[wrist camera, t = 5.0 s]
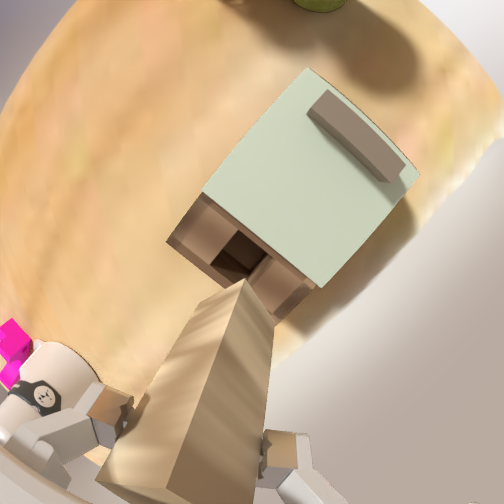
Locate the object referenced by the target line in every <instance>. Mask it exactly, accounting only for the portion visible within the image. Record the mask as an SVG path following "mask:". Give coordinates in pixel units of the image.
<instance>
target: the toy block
mask: <svg viewBox="0 0 504 504" xmlns="http://www.w3.org/2000/svg"><path fill="white" fill-rule="evenodd" d="M30 343H31V338H30V337H29V336H28V335H27V334H26V333H25V332H24V331H23V330H22V329H21V328H20V326H19V325H18V324H17V323H16V322H15V321H14V320H13V319H12V318H11V319H10V320H8V321H7V322H6V323H4V324H3V325H2V326H0V354H1V355H2V357H3V358H4V359H5V360H6V361H7V364H6V365H5V367H4V369H3V370H2V371H1V373H0V381H1V382H2V383H3V384H4V385H5V386H6V387H7V388H8V389H9V390H11V388H12V386H13V385H15V384H16V383H17V382H18V381H19V380H20V370H19V369H20V367H21V366H22V365H23V364H24V363H25V361H26V360H27V359H28V355H29V348H30Z"/></svg>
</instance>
